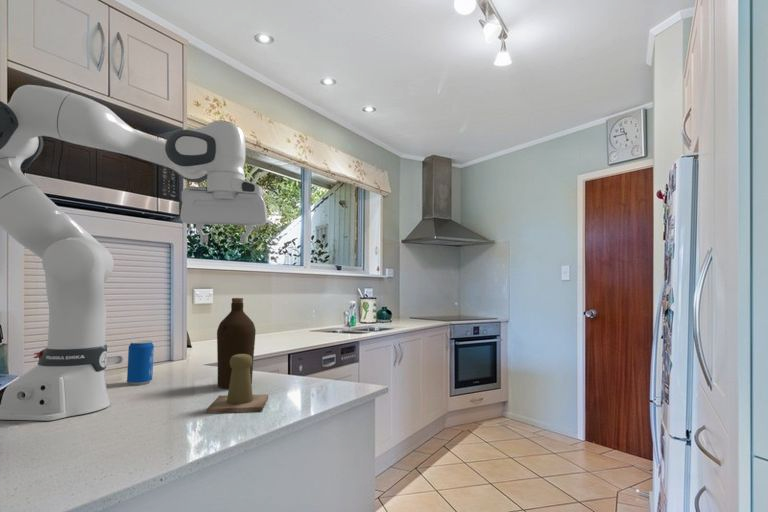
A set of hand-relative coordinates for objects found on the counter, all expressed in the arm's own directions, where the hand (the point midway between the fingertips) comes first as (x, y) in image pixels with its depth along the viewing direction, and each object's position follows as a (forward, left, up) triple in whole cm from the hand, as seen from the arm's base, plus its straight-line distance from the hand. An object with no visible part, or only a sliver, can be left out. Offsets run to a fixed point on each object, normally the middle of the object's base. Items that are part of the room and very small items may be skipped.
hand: (224, 242), depth 108 cm
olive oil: (0, +21, -39) cm, 45 cm away
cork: (+5, -1, -38) cm, 39 cm away
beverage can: (-28, +27, -39) cm, 56 cm away
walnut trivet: (+5, -1, -39) cm, 39 cm away
